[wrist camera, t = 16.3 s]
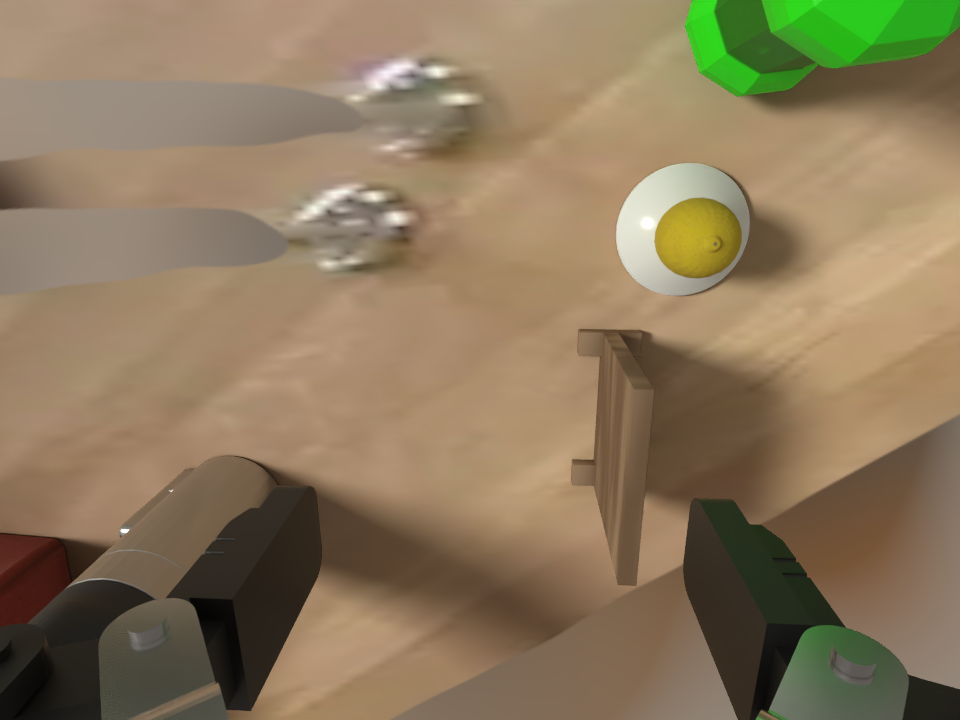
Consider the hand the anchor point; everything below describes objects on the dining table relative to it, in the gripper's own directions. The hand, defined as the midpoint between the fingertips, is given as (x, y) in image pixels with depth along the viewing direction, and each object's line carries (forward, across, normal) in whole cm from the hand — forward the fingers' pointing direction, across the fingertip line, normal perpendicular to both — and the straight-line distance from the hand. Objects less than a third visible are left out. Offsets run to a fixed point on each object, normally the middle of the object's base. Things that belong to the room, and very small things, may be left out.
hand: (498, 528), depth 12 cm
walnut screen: (+36, -8, +12) cm, 39 cm away
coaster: (+36, -13, -3) cm, 38 cm away
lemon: (+36, -13, -3) cm, 38 cm away
